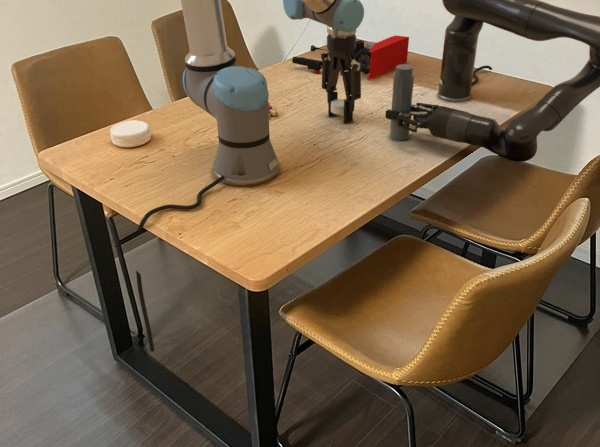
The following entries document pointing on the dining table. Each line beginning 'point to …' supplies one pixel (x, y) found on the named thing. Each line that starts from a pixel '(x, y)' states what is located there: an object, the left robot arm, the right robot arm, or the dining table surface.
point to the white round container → (130, 133)
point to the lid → (337, 106)
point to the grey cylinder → (401, 98)
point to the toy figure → (271, 110)
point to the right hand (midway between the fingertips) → (391, 110)
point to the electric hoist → (370, 56)
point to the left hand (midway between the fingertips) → (340, 118)
